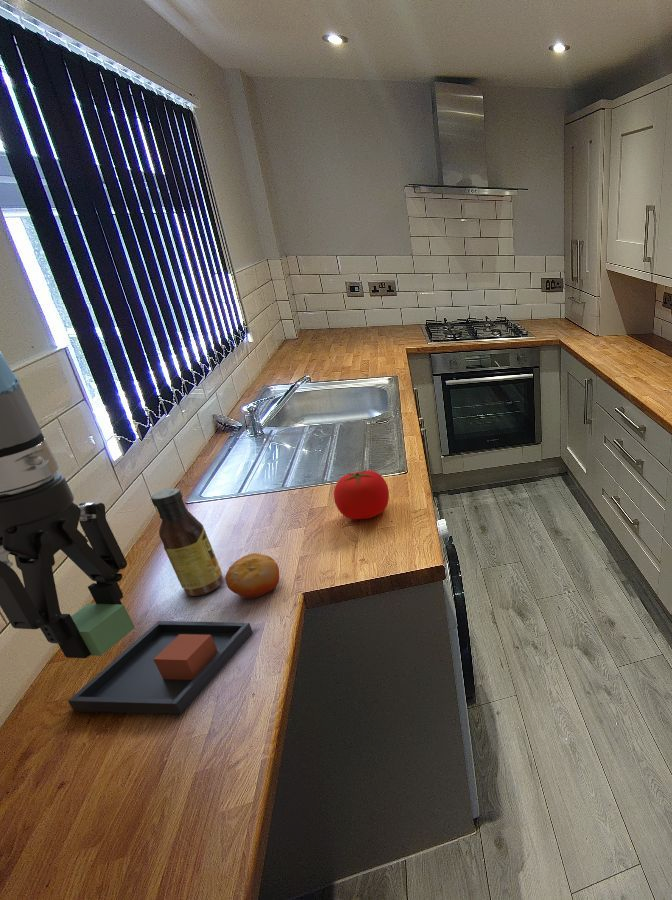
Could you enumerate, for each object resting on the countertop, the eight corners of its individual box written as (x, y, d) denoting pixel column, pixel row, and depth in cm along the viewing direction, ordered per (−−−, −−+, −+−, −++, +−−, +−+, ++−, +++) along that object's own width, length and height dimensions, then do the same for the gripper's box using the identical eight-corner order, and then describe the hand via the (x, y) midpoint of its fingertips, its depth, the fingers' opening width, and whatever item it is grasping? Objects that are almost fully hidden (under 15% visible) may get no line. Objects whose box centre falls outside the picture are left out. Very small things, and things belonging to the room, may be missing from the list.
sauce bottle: (231, 583, 98) (196, 490, 90) (193, 602, 94) (153, 506, 85) (214, 571, 102) (179, 481, 93) (177, 589, 97) (136, 496, 89)
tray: (73, 711, 73) (67, 701, 72) (162, 630, 88) (158, 620, 87) (181, 714, 73) (175, 704, 72) (253, 632, 87) (249, 622, 86)
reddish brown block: (162, 679, 78) (153, 659, 76) (188, 653, 82) (179, 633, 80) (195, 680, 77) (186, 660, 76) (219, 654, 82) (211, 634, 80)
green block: (64, 654, 67) (50, 630, 65) (100, 626, 71) (88, 603, 70) (101, 656, 66) (88, 632, 65) (135, 627, 71) (123, 604, 69)
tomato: (389, 497, 128) (381, 458, 123) (395, 521, 118) (386, 479, 113) (339, 507, 123) (329, 467, 119) (340, 533, 113) (329, 491, 109)
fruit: (271, 561, 102) (267, 540, 97) (287, 594, 99) (284, 574, 94) (222, 580, 97) (216, 559, 91) (238, 615, 94) (232, 596, 89)
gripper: (-48, 527, 51) (57, 698, 60) (119, 450, 67) (180, 594, 77) (-119, 525, 51) (-3, 695, 61) (64, 449, 68) (132, 592, 77)
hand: (99, 638), depth 69 cm, fingers closed on green block, 5 cm apart
